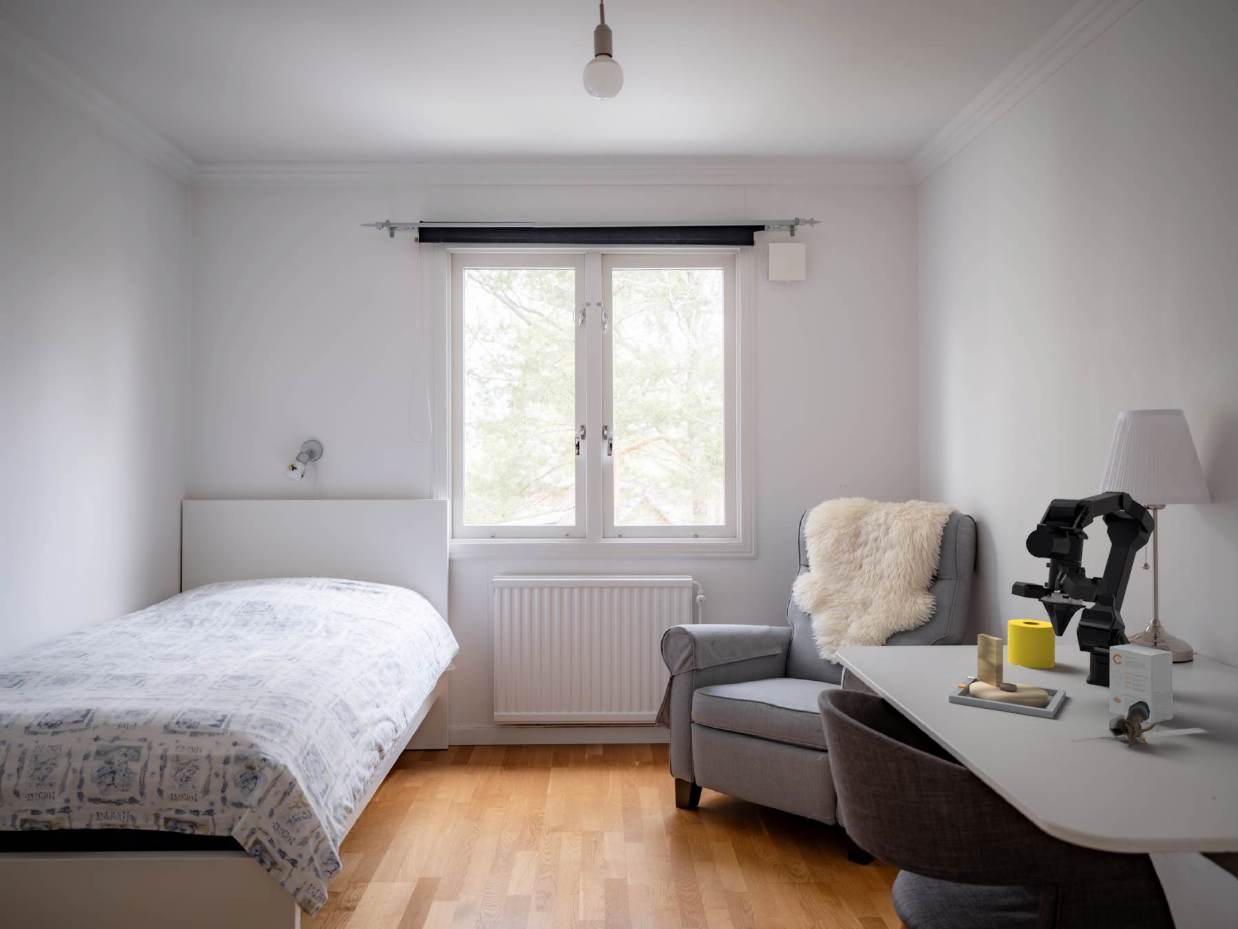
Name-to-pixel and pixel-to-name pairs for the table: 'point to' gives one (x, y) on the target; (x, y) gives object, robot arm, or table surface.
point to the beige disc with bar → (1001, 678)
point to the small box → (1141, 680)
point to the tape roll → (1031, 643)
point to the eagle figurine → (1133, 722)
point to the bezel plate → (1048, 711)
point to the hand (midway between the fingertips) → (1058, 636)
